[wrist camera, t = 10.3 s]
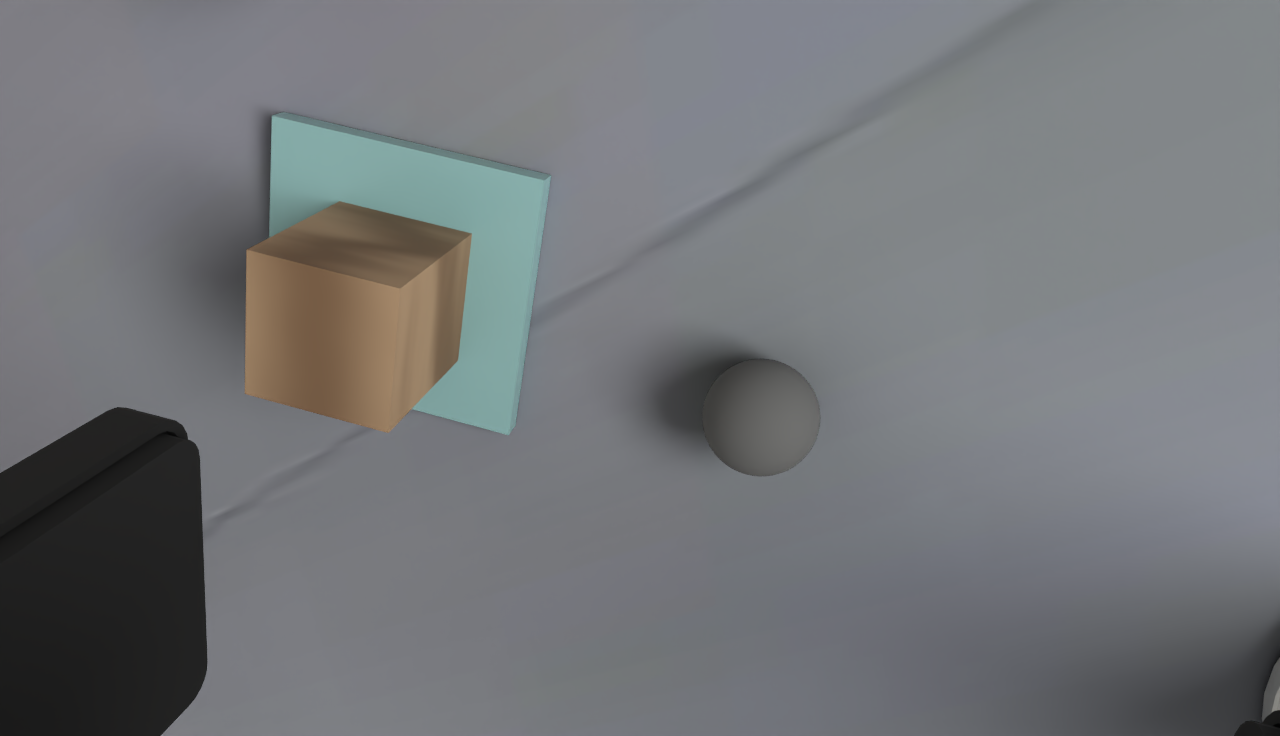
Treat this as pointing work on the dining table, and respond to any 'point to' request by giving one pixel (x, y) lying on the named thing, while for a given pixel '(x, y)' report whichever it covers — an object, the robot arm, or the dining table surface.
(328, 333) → the walnut block
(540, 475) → the dining table surface
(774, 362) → the rubber ball
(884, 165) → the dining table surface
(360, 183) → the coaster
